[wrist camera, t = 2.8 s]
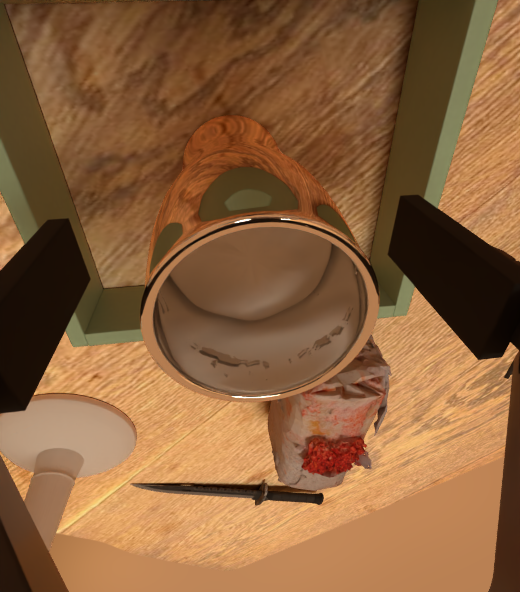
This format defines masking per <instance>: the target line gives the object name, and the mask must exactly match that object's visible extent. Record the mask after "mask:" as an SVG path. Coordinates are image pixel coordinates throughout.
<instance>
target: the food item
mask: <svg viewBox="0 0 520 592" xmlns="http://www.w3.org/2000/svg"><path fill="white" fill-rule="evenodd" d="M388 374H389V375H391V371H390V366H389V365H388V364H387V363H386V361H385V360H384V359H383V358H382V354H381V352H380V350H379V348H378V346H377V345H375V343H374V340H373V337H372V335H370V337H369V339H368V341H367V342H366V344H365V345H364V347H363V348H362V350H361V351H360V352H359V353H358V355H357V356H356V357H355V358H354V359H353V360H352V361H351V362H350V363H349V364H348V365H347V366H346V367H345V368H344V369H342V370H341V371H340V372H339V373H337V374H336V375H335V376H333V377H332V378H330V379H329V380H327V381H325V382H323V383H322V384H320V385H318V386H316V387H314V388H312V389H309V390H307V391H305V392H302V393H299V394H296V395H293V396H290V397H286V398H282V399H277V400H271V404H270V409H269V416H268V431H269V436H270V441H271V445H272V450H273V451H272V453H273V455H274V462H275V469H276V471H277V473H278V476H279V478H278V481H280V482H283V483H284V484H286V485H288V486H289V487H293V488H298V489H305V490H313V491H317V490H321V489H325V488H331V487H336V486H338V485H340V484H341V483H342V481H343V478H344V476H345V474H346V473H347V471H348V470H350V469H351V468H353V466H352V463H354V462H355V463H354V464H355V465H357V466H361V465H362V466H363V467H364V468H366V469H371V460H370V459H369V457H368V452H366V451H365V450H364V448H363V447H365V448H366V446H367V445H366V444H364V437H365V435H366V433H367V431H368V429H369V427H370V425H371V423H372V421H373V419H374V417H375V415H376V413H377V411H378V419H377V421H376V422H375V423H374V427H375V435H376V433H377V431H378V429H379V427H380V425H381V423H382V421H383V419H384V417H385V414H386V412H387V397H388V392H389V377H388ZM364 454H365V455H364ZM368 465H369V467H368Z"/></svg>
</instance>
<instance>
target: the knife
mask: <svg viewBox="0 0 520 592" xmlns="http://www.w3.org/2000/svg"><path fill="white" fill-rule="evenodd" d="M130 485H133V486H135V487H138V488H142V489H146V490H151V491H156V492H164V493H175V494H190V495H206V496H222V497H238V498H252V500H255V505H260V504H261V503H262V502H263V501H266V500H273V501H290V502H306V503H315V504H318V505H320V504H322V502H323V499H324V497H323V494H322V493H319V494H308V493H293V492H278V491H267V490H268V487H267V483H264V484H262V485H261V487H260V489H259V490H249V489H247V490H244V489H239V490H238V489H230V488H226V489H224V488H217V487H212V488H210V487H202V486H198V487H196V486H180V485H153V484H130Z"/></svg>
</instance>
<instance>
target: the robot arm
mask: <svg viewBox="0 0 520 592" xmlns="http://www.w3.org/2000/svg"><path fill="white" fill-rule="evenodd" d="M387 255H388V256H389V257H390V258H391V259H392V261H393V262H394V263H395V264H396V265H397V266H398V268H399V269H400V270H401V271H402V272H403V273H404V274H405V276H406V277H407V278H408V279H409V280H410V281H411V283H412V284H413V285H414V286H415V287H416V288H417V289H418V291H419V292H420V293H421V294H422V295H423V296H424V298H425V299H426V300H427V301H428V302H429V303H430V304H431V306H432V307H433V308H434V309H435V310H436V311H437V313H438V314H439V315H440V316H441V317H442V318H443V319H444V321H445V322H446V323H447V324H448V325H449V326H450V328H451V329H452V330H453V331H454V332H455V333H456V334H457V336H458V337H459V338H460V339H461V340H462V341H463V343H464V344H465V345H466V346H467V347H468V348H469V349H470V351H471V352H472V353H473V354H474V355H475V356H476V358H477V359H478V360H481V359H490V358H499V357H502V356H503V354H504V352H505V350H506V349H507V347H508V345H509V343H510V342H511V343H512V344H513V345H514V346H515V347H516V348H517V349H518V350H519V352H518V353H517V355H516V357H515V359H514V360H513V362H512V364H511V366H510V367H509V369H508V371H507V373H506V375H505V376H504V378H507V379H508V378H509V377H510V375H512V385H511V395H510V406H509V416H508V427H507V437H506V448H505V458H504V469H503V480H502V490H501V500H500V511H499V522H498V531H497V542H496V553H495V563H494V573H493V579H492V583H491V587H490V589H489V591H488V592H520V262H519V261H516V259H515V258H513V257H512V256H510V255H509V254H507V253H506V252H504V251H502V250H500V249H497V248H495V247H493V246H491V245H489V244H488V243H486V242H485V241H483V240H482V239H481V238H479V237H478V236H476V235H475V234H473V233H472V232H471V231H469V230H468V229H466V228H465V227H463V226H462V225H461V224H459V223H458V222H456V221H455V220H453V219H452V218H451V217H449V216H448V215H446V214H445V213H444V212H442V211H441V210H439V209H438V208H436V207H435V206H434V205H432V204H431V203H429V202H428V201H426V200H425V199H424V198H422V197H421V196H419V195H404V196H400V199H399V203H398V208H397V213H396V217H395V222H394V227H393V231H392V236H391V241H390V245H389V250H388V254H387ZM90 280H91V278H90V275H89V273H88V270H87V267H86V264H85V262H84V259H83V256H82V253H81V251H80V248H79V245H78V242H77V240H76V237H75V234H74V231H73V229H72V226H71V223H70V220H69V218H64V219H49V220H47V221H46V222H45V223H44V224H43V225H42V226H41V227H40V228H39V229H38V231H37V232H36V233H35V234H34V235H33V236H32V237H31V238H30V239H29V240H28V241H27V243H26V244H25V245H24V246H23V247H22V248H21V249H20V250H19V251H18V252H17V253H16V254H15V256H14V257H13V258H12V259H11V260H10V261H9V262H8V263H7V264H6V265H5V266H4V268H3V269H2V270H1V271H0V414H1V413H10V412H19V411H25V410H26V408H27V406H28V404H29V402H30V400H31V398H32V396H33V394H34V392H35V390H36V388H37V386H38V384H39V382H40V380H41V378H42V376H43V374H44V372H45V370H46V368H47V366H48V364H49V362H50V360H51V358H52V356H53V354H54V352H55V350H56V348H57V346H58V344H59V342H60V340H61V338H62V336H63V334H64V332H65V330H66V328H67V326H68V324H69V322H70V320H71V318H72V316H73V314H74V312H75V310H76V308H77V306H78V304H79V302H80V300H81V298H82V296H83V294H84V292H85V290H86V288H87V286H88V284H89V282H90ZM0 592H69V591H68V589H67V587H66V585H65V583H64V581H63V579H62V577H61V575H60V573H59V572H58V569H57V567H56V566H55V563H54V561H53V559H52V557H51V555H50V553H49V551H48V549H47V547H46V545H45V543H44V541H43V539H42V537H41V535H40V533H39V531H38V529H37V527H36V525H35V523H34V521H33V519H32V517H31V515H30V513H29V511H28V509H27V507H26V505H25V503H24V501H23V499H22V497H21V495H20V493H19V491H18V489H17V487H16V485H15V483H14V481H13V479H12V477H11V475H10V473H9V471H8V469H7V467H6V465H5V463H4V461H3V459H2V457H1V455H0Z"/></svg>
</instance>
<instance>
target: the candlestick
mask: <svg viewBox="0 0 520 592" xmlns="http://www.w3.org/2000/svg"><path fill="white" fill-rule="evenodd" d="M136 439H137V433H136V429H135V427H134V425H133V423H132V421H131V420H130V419H129V418H128V417H127V416H126V415H125V414H124V413H123V412H121V411H120V410H118V409H117V408H115V407H113V406H111V405H109V404H107V403H105V402H102V401H99V400H96V399H93V398H89V397H85V396H80V395H73V394H44V395H37V396H32V398H31V400H30V402H29V404H28V406H27V408H26V410H25V411H19V412H10V413H1V414H0V451H1V452H2V453H3V455H4V456H5V457H6V458H8V459H9V460H10V461H11V462H13V463H14V464H16V465H17V466H19V467H21V468H23V469H25V470H28V471H30V472H33V473H34V475H33V477H32V478H31V481H30V486H29V489H28V492H27V495H26V498H25V501H24V503H25V505H26V507H27V509H28V511H29V513H30V515H31V517H32V519H33V521H34V523H35V525H36V527H37V529H38V531H39V533H40V535H41V537H42V539H43V541H44V543H45V545H46V547H47V549H48V551H50V548H51V545H52V543H53V540H54V537H55V534H56V532H57V529H58V526H59V523H60V520H61V518H62V515H63V512H64V509H65V507H66V504H67V501H68V499H69V496H70V493H71V490H72V488H73V486H74V484H75V479H76V478H79V477H87V476H92V475H96V474H99V473H102V472H105V471H108V470H110V469H112V468H114V467H116V466H118V465H119V464H121V463H122V462H124V461H125V460H126V459H127V458H128V457H129V456H130V455H131V454H132V452H133V450H134V448H135V445H136Z"/></svg>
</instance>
